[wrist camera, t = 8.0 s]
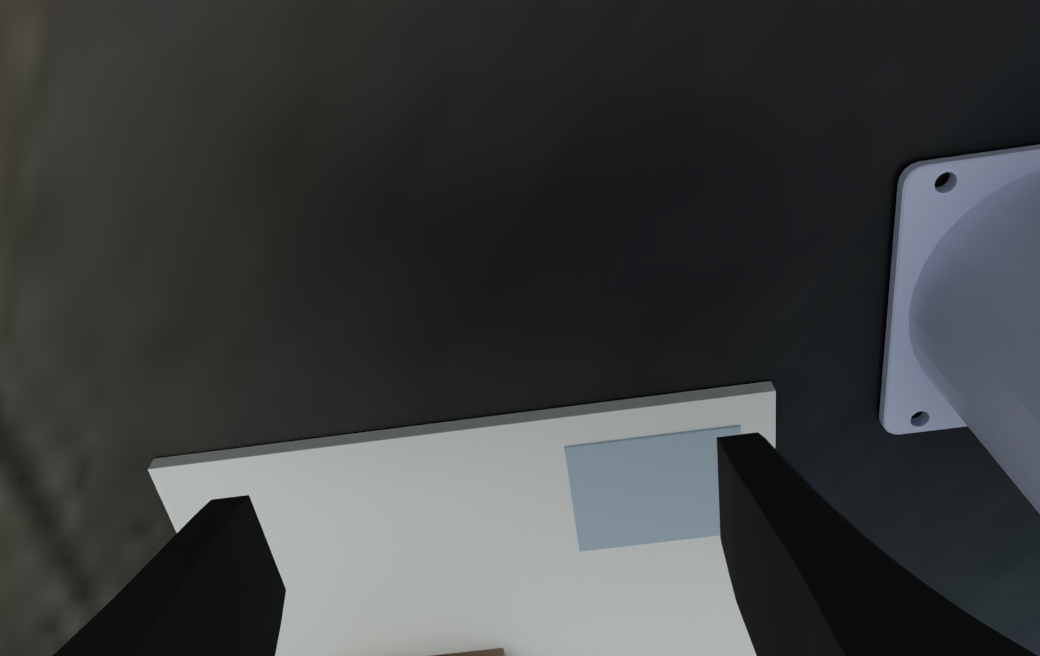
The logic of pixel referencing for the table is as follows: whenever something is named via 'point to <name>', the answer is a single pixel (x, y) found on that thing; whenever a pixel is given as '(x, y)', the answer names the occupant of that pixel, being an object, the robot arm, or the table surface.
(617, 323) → the table surface
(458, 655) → the walnut block
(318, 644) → the board
